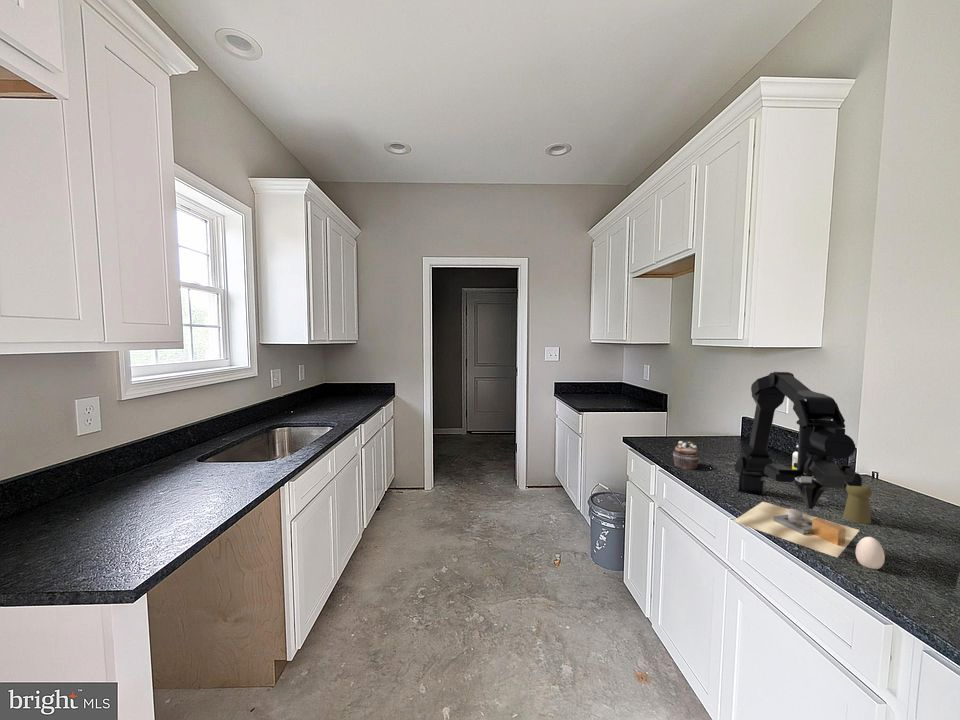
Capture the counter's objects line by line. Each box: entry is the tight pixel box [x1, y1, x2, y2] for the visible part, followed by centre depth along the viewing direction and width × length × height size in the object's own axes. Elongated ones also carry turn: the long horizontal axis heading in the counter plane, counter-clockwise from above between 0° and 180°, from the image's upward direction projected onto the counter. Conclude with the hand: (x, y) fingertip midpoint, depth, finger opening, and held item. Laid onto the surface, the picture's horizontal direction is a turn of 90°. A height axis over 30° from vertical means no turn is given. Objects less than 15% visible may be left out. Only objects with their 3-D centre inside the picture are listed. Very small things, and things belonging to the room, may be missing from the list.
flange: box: [773, 514, 846, 545], centre depth 104 cm, size 14×8×4 cm, turn 15°
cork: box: [842, 483, 873, 525], centre depth 110 cm, size 6×6×11 cm
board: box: [732, 501, 860, 558], centre depth 107 cm, size 22×22×5 cm
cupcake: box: [672, 439, 701, 470], centre depth 158 cm, size 10×10×10 cm
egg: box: [855, 536, 886, 570], centre depth 88 cm, size 5×5×7 cm
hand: (809, 508), depth 98 cm, fingers closed
